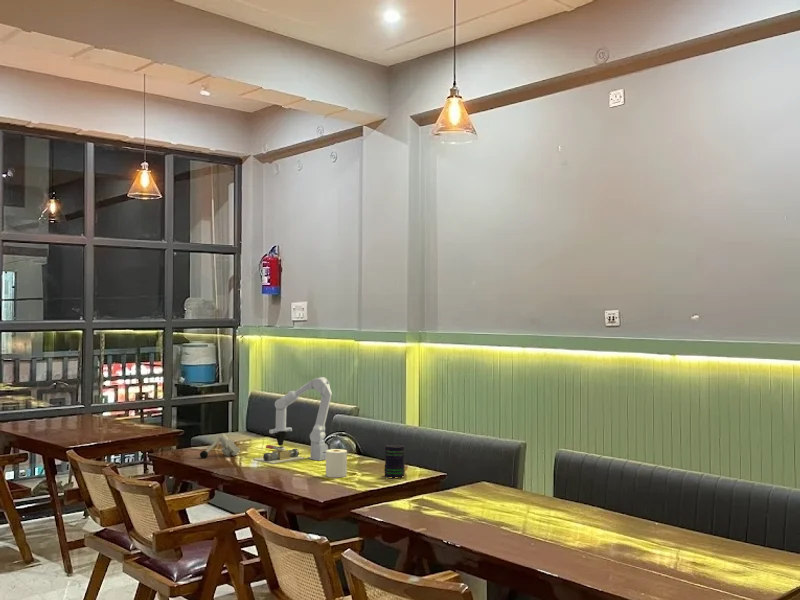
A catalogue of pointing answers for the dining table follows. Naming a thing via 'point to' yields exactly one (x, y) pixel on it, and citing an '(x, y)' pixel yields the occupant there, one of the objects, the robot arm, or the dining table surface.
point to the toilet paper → (336, 463)
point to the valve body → (281, 455)
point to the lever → (280, 448)
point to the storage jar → (394, 460)
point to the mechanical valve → (226, 443)
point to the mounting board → (278, 460)
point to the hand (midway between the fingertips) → (280, 445)
